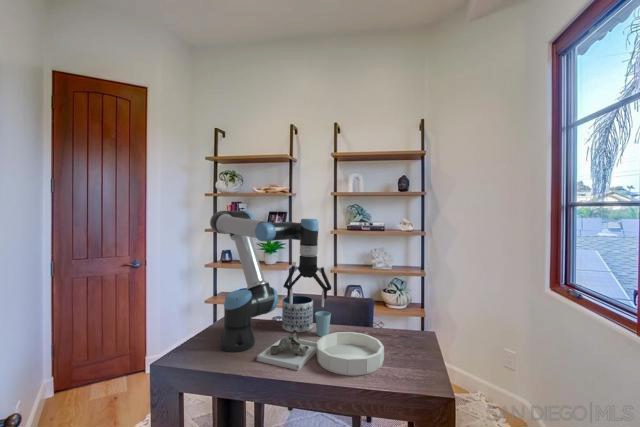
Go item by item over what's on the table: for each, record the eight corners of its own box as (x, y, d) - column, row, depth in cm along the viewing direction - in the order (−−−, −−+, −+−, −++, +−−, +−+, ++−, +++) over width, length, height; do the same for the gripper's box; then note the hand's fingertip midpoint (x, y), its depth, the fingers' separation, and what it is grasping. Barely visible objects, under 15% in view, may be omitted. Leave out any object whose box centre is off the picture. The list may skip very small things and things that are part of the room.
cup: (333, 336, 150) (333, 314, 150) (318, 339, 147) (318, 316, 147) (326, 331, 157) (326, 310, 157) (312, 333, 154) (312, 312, 154)
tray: (256, 360, 124) (256, 355, 124) (284, 340, 144) (284, 336, 144) (298, 370, 117) (298, 365, 117) (321, 347, 137) (321, 343, 137)
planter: (317, 324, 166) (317, 297, 166) (304, 335, 151) (304, 305, 151) (291, 320, 172) (291, 294, 172) (276, 329, 158) (276, 301, 158)
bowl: (306, 366, 119) (306, 351, 119) (331, 341, 144) (331, 328, 144) (373, 382, 109) (373, 364, 109) (388, 352, 133) (388, 338, 133)
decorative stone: (267, 356, 125) (270, 329, 128) (273, 351, 134) (275, 327, 137) (306, 359, 124) (308, 333, 126) (309, 355, 133) (311, 330, 135)
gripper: (277, 255, 129) (275, 306, 129) (337, 258, 126) (335, 309, 126) (281, 252, 136) (279, 300, 136) (338, 255, 134) (336, 304, 134)
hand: (306, 305), depth 131 cm, fingers open, 13 cm apart
